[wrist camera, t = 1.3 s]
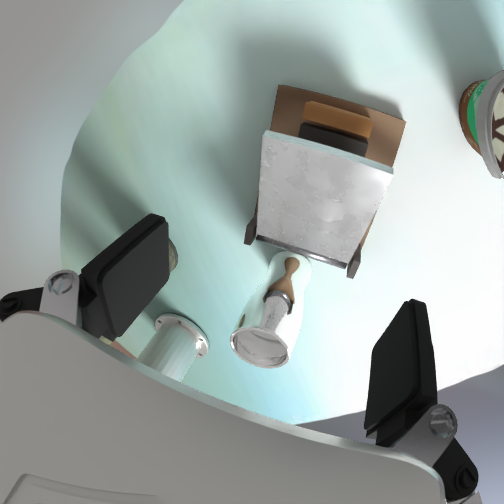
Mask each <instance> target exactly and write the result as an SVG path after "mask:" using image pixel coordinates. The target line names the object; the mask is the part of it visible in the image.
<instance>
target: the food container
mask: <svg viewBox="0 0 504 504" xmlns="http://www.w3.org/2000/svg"><path fill="white" fill-rule="evenodd" d="M459 118H460V124H461V127H462V131H463V133H464V135H465V137H466V139H467V141H468V142H469V144H470V145H471V147H472V148H473V149H474V150H475V151H477V152H478V153H479V154H480V155H481V156H482V157H483V160H484V162H485V164H486V166H487V168H488V170H489V172H490V173H491V175H492V176H493V177H496V178H499V179H501V177H502V178H503V179H504V176H503V174H502V172H503V171H504V70H503V71H500V72H498V73H497V74H495V75H494V76H493V77H492V78H491V79H488V80H482V81H477V82H475V83H473V84H471V85H470V86H469V87H468V88H467V89H466V90H465V91H464V93H463V95H462V98H461V101H460V105H459Z"/></svg>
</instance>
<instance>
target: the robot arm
mask: <svg viewBox="0 0 504 504" xmlns="http://www.w3.org/2000/svg"><path fill="white" fill-rule="evenodd" d="M81 272H82V273H81V274H80V275H79V276H78V275H77V273H75V272H74V271H71V270H61V271H57V272H55V273H53V274H52V275H51V276H49V277H48V279H47V280H46V282H45V284H44V287H41V288H35V289H29V290H23V291H18V292H12V293H9V294H7V295H6V296H4V297H3V298H2V299H1V300H0V504H482V501H481V498H480V494H479V491H478V492H475V488H476V486H477V483H478V471H477V468H476V467H475V465H474V464H473V462H472V461H471V459H470V458H469V457H468V455H467V454H466V453H465V451H464V450H463V448H462V447H461V446H460V444H459V443H458V442H457V440H456V439H455V438H454V436H455V434H456V432H457V427H458V424H457V419H456V416H455V414H454V412H453V411H452V410H451V409H450V408H449V407H448V406H446V405H443V404H438V403H437V383H436V370H435V359H434V350H433V345H432V341H431V333H430V326H429V320H428V313H427V308H426V304H425V303H424V302H421V301H418V300H415V299H411V300H409V302H408V301H405V302H404V303H403V305H402V306H401V308H400V309H399V311H398V312H397V314H396V315H395V317H394V318H393V320H392V321H391V323H390V324H389V326H388V327H387V329H386V330H385V332H384V333H383V334H382V336H381V337H380V339H379V340H378V341H377V343H376V344H375V346H374V348H373V350H372V357H371V370H370V381H369V390H368V399H367V407H366V415H365V422H364V429H365V430H367V434H366V438H371V439H376V444H375V445H373V444H368V443H362V442H358V441H354V440H349V439H345V438H340V437H337V436H332V435H328V434H324V433H320V432H316V431H313V430H309V429H305V428H301V427H298V426H295V425H292V424H288V423H285V422H282V421H279V420H275V419H272V418H269V417H266V416H263V415H260V414H258V413H255V412H252V411H249V410H246V409H244V408H241V407H238V406H235V405H233V404H230V403H228V402H225V401H223V400H220V399H218V398H215V397H213V396H210V395H208V394H206V393H203V392H201V391H199V390H196V389H194V388H192V387H190V386H187V385H185V384H183V383H181V381H182V380H183V378H184V376H185V375H186V373H187V371H188V370H189V368H190V366H191V365H192V363H193V361H194V359H195V358H201V357H203V356H205V355H206V354H207V352H208V350H209V342H208V339H207V337H206V336H205V334H204V333H203V332H202V330H201V329H200V328H199V327H198V326H196V325H195V324H194V323H192V322H191V321H189V320H188V319H186V318H184V317H182V316H179V315H176V314H171V313H166V314H162V315H160V316H159V317H158V319H157V320H156V322H155V329H156V334H155V335H154V336H153V338H152V339H151V340H150V342H149V343H148V344H147V346H146V347H145V348H144V350H143V351H142V352H141V354H140V355H139V357H138V358H137V359H136V360H135V359H133V358H131V357H129V356H127V355H125V354H124V353H122V352H120V351H118V350H117V349H115V348H113V347H111V346H110V345H108V344H106V343H104V342H103V341H101V340H99V338H100V337H101V336H103V337H105V338H107V339H108V340H110V341H112V342H113V341H114V340H115V339H116V337H120V336H122V335H123V334H124V332H125V331H126V330H127V329H128V327H129V326H130V325H131V324H132V323H133V321H134V320H135V319H136V318H137V317H138V315H139V314H140V313H141V312H142V311H143V309H144V308H145V307H146V306H147V305H148V303H149V302H150V301H151V300H152V299H153V298H154V296H155V295H156V294H157V293H158V292H159V291H160V289H161V288H162V287H163V286H164V285H165V284H166V282H167V281H168V279H169V275H170V271H169V234H168V222H166V220H165V218H164V217H162V216H159V215H156V214H153V213H150V214H149V215H147V216H146V217H145V218H143V219H142V220H141V221H139V222H138V223H137V224H136V225H134V226H133V227H132V228H130V229H129V230H128V231H127V232H125V233H124V234H123V235H122V236H120V237H119V238H118V239H117V240H115V241H114V242H113V243H112V244H111V245H109V246H108V247H107V248H106V249H105V250H103V251H102V252H101V253H100V254H99V255H97V256H96V257H95V258H94V259H93V260H92V261H90V262H89V263H88V264H87V265H86V266H85V267H83V268H82V269H81Z"/></svg>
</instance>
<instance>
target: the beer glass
mask: <svg viewBox="0 0 504 504" xmlns="http://www.w3.org/2000/svg"><path fill="white" fill-rule="evenodd" d="M311 275H312V268H311V264H310V262H309V261H308V260H307V258H306V257H304V256H302V255H299V254H296V253H293V252H290V251H282V252H279V253H277V254H276V255H275V256H274V257H273V258H272V259H271V261H270V265H269V270H268V274H267V276H266V278H265V279H264V280H263V282H262V283H261V284H260V285H259V286H258V287H257V289H256V290H255V291H254V292H253V293H252V295H251V296H250V298H249V299H248V300H247V302H246V304H245V305H244V307H243V309H242V311H241V313H240V315H239V318H238V320H237V322H236V325H235V328H234V330H233V333H232V335H231V337H230V345H231V347H232V349H233V351H234V352H235V353H236V355H237V356H239V357H240V358H241V359H242V360H244V361H245V362H247V363H249V364H251V365H254V366H257V367H261V368H278V367H281V366H283V365H285V364H286V363H287V362H288V360H289V358H290V355H291V353H292V350H293V348H294V346H295V343H296V341H297V338H298V335H299V332H300V328H301V324H302V318H303V302H304V289H305V287H306V285H307V283H308V282H309V280H310V278H311Z"/></svg>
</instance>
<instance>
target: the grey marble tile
mask: <svg viewBox="0 0 504 504" xmlns="http://www.w3.org/2000/svg"><path fill="white" fill-rule="evenodd" d="M392 177H393V168H392V167H389V166H387V165H384V164H381V163H379V162H376V161H373V160H370V159H367V158H364V157H361V156H358V155H355V154H352V153H349V152H346V151H343V150H340V149H336V148H333V147H330V146H326V145H323V144H319V143H316V142H312V141H309V140H305V139H301V138H297V137H293V136H290V135H285V134H281V133H277V132H273V131H269V130H266V131H265V132H264V134H263V135H262V148H261V165H260V182H259V199H258V216H257V232H256V241H259V242H262V243H265V244H268V245H271V246H274V247H277V248H281V249H284V250H287V251H290V252H293V253H296V254H299V255H302V256H305V257H308V258H312V259H315V260H318V261H321V262H324V263H327V264H330V265H333V266H336V267H339V268H342V269H345V268H346V266H347V265H348V263H349V261H350V260H351V258H352V256H353V254H354V252H355V250H356V249H357V247H358V245H359V243H360V241H361V239H362V238H363V236H364V234H365V232H366V230H367V228H368V226H369V224H370V222H371V220H372V218H373V216H374V214H375V212H376V210H377V208H378V206H379V204H380V202H381V200H382V198H383V196H384V194H385V192H386V190H387V188H388V186H389V184H390V181H391V179H392Z"/></svg>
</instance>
